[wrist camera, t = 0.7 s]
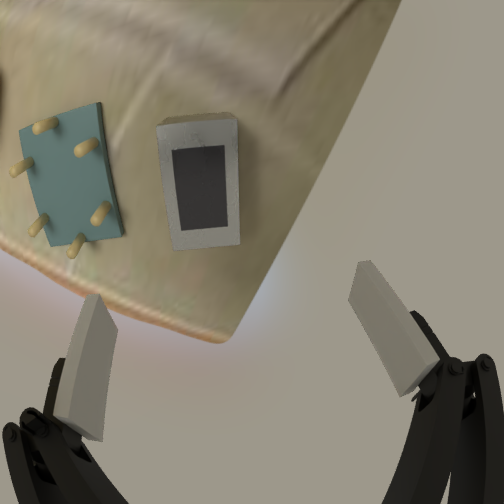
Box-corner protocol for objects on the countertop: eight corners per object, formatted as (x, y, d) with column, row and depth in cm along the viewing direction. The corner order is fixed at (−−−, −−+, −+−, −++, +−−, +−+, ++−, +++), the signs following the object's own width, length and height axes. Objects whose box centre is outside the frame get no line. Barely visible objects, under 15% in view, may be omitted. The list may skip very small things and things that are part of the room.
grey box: (167, 117, 23) (155, 126, 17) (229, 111, 24) (237, 118, 18) (178, 216, 29) (173, 251, 24) (232, 211, 30) (240, 245, 24)
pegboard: (24, 128, 19) (0, 138, 15) (100, 102, 20) (81, 105, 17) (54, 241, 28) (39, 263, 24) (123, 231, 29) (113, 254, 25)
